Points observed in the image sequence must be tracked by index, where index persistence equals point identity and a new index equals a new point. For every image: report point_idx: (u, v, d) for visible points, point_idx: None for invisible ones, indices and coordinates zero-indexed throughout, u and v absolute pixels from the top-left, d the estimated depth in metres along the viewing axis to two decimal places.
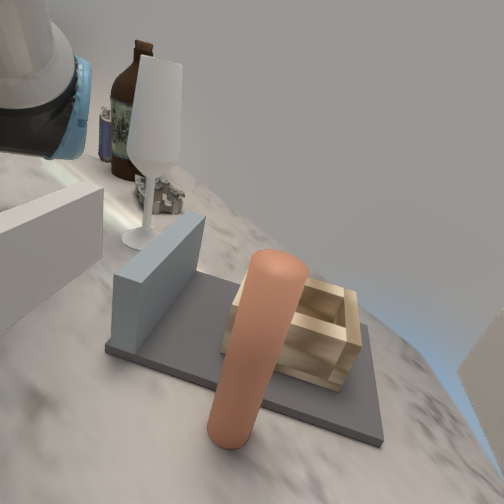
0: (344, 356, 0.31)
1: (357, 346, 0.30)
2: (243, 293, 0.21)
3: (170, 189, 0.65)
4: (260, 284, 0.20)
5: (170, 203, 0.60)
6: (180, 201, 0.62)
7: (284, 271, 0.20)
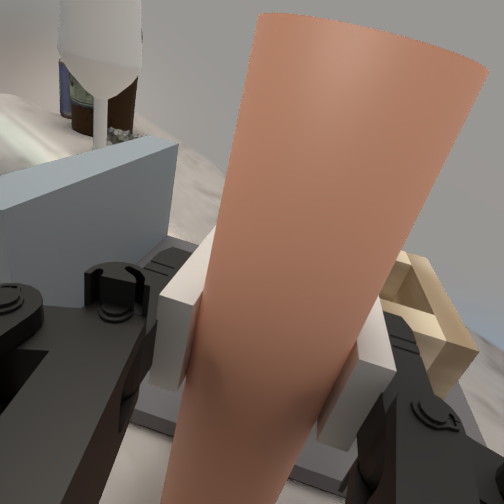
0: (438, 371, 0.15)
1: (469, 351, 0.15)
2: (230, 169, 0.06)
3: None
4: (302, 86, 0.04)
5: None
6: None
7: None
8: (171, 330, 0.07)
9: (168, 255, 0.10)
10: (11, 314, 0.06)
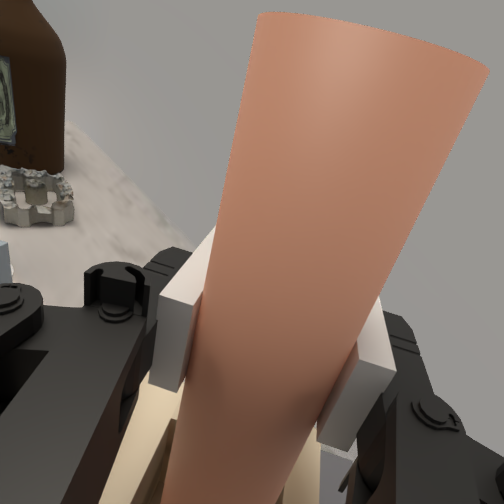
0: None
1: None
2: (230, 169, 0.06)
3: (59, 187, 0.43)
4: (301, 85, 0.04)
5: (49, 209, 0.38)
6: (68, 205, 0.40)
7: None
8: (171, 330, 0.07)
9: (168, 255, 0.10)
10: (11, 314, 0.06)
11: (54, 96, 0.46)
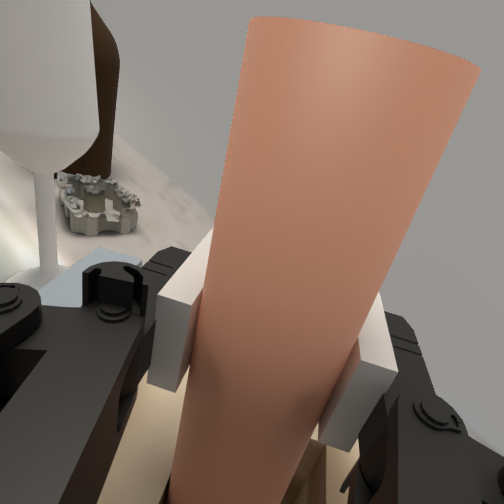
0: None
1: None
2: (225, 172, 0.06)
3: (117, 193, 0.41)
4: (292, 89, 0.04)
5: (116, 217, 0.36)
6: (133, 212, 0.38)
7: None
8: (170, 329, 0.07)
9: (167, 255, 0.10)
10: (9, 314, 0.06)
11: (109, 99, 0.44)
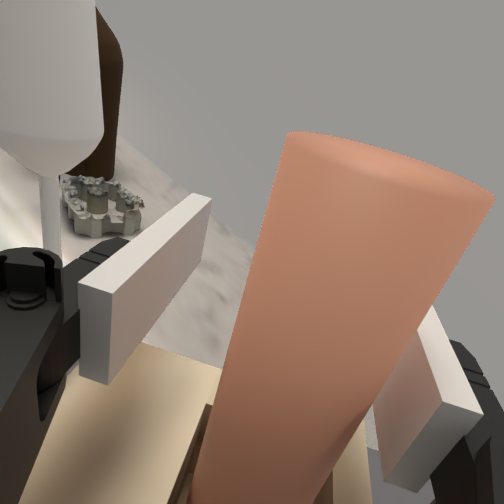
0: None
1: None
2: (257, 261, 0.07)
3: (120, 194, 0.42)
4: (328, 217, 0.05)
5: (120, 218, 0.37)
6: (137, 214, 0.38)
7: (411, 174, 0.05)
8: (95, 319, 0.07)
9: (110, 245, 0.09)
10: None
11: (112, 100, 0.44)
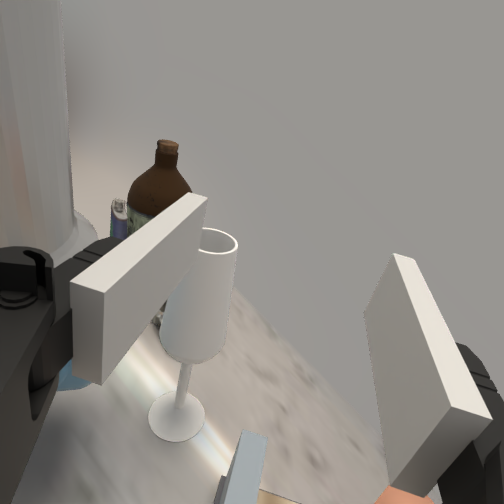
0: None
1: None
2: None
3: None
4: None
5: None
6: None
7: None
8: (87, 318, 0.07)
9: (104, 244, 0.09)
10: None
11: None
